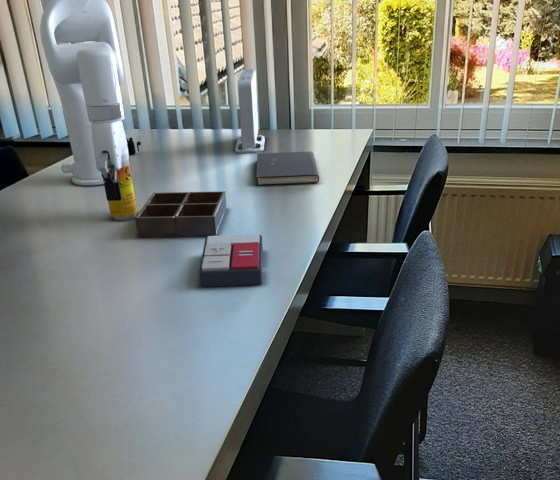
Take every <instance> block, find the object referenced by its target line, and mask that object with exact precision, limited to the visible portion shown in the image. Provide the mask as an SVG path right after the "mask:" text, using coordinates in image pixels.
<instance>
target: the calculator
mask: <svg viewBox="0 0 560 480" xmlns="http://www.w3.org/2000/svg"><path fill="white" fill-rule="evenodd" d="M263 247H264V246H263V236H262V234H259V233H250V234H248V233H247V234H221V235H217V236H205V239H204V244H203V249H202V256H201V260H200V265H199V271H198V273H199V283H200V287H202V288H212V287H236V286H237V287H238V286H261V285H262V284H263V259H264V248H263Z"/></svg>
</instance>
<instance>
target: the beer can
mask: <svg viewBox="0 0 560 480" xmlns="http://www.w3.org/2000/svg"><path fill="white" fill-rule="evenodd" d="M109 159H110V158H109ZM121 161H122V164H121V168H120V169H119V170H118V171H117V182H119V186H120V191H121V197H122V199H121V200H120V201H108V200H107V203H108V209H109V214H110V216H111V217H112V218H113V219H114V220H116V221H126V220H130V219H134V218H135V217H136V216H137V214H138V207H137V201H136V196H135V190H134V184H133V179H132V173H131V165H130V166H129V164H130V159H128V154H127V152H126V150H125V148H124V149H123V150H122V156H121ZM108 167H114V166H108ZM110 173H111V174H112V176H113V172H110Z"/></svg>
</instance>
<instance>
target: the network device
mask: <svg viewBox="0 0 560 480" xmlns="http://www.w3.org/2000/svg"><path fill="white" fill-rule="evenodd" d="M256 78H257V76H256V69H255V68H249V69H248V68H247V69H246V68H245V69H244V68H243V69H242V70H241V73H240V75H239V77H238V80H237V91H238V92H237V93H238V94H237V95H238V105H239V120H240V123H239V124H240V136H239V137H237V140H236V143H235V146H234V147H235V148H234V151H235V152H236V153H239V154H240V153H242V154H244V153H245V154H246V153H260V152H262V151H264V149H265V143H266V142H265V140H266V137H265V135H258V134H259V120H258V119H259V117H258V116H259V115H258V98H257V97H258V96H257V79H256ZM257 139H261V140H257ZM257 146H259V148H256V147H257ZM240 147H242V149H239V148H240Z"/></svg>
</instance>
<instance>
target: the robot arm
mask: <svg viewBox="0 0 560 480" xmlns="http://www.w3.org/2000/svg"><path fill="white" fill-rule="evenodd" d="M40 5H41V8H42V14H41V18H40V23H39V34H40V41H41V45H42V49H43V52H44V56H45V60H46V63H47V66H48V70H49V72H50V75H51V77H52V79H53V82H54V85H55V88H56V90H57V93H58V97H59V101H60V104H61V109H62V112H63V116H64V120H65V126H66V130H67V135H68V139H69V144H70V149H71V153H72V158H73V163H72V164H69V163H64V164H61V166H60V168H61V171H62V173H63V174H72V177H71V181H72V183H73V184H75V185H77V186H78V185H79V186H90V187H91V186H99V185H103V187H104V192H105V198H106V200H107V202H108V201H120V200H121V199H122V197H121V191H120V186H119V182H117V171H118V170H119V169H120V168H121V164H122V161H121V156H122V150H123V149H124V148H125V150H126V152H127V154H128V160H130V158H129V157H130V155H129V153H128V146H127V140H126V138H127V135H126V131H125V127H124V123H123V121H124V120H125V119H126V117H125V111H124V104H123V99H122V93H121V87H120V86H122V84H123V83H124V77H125V76H124V75H125V74H124V66H123V60H122V56H121V51H120V45H119V41H118V36H117V35H118V34H117V30H116V26H115V20H114V16H113V13H112V12H113V11H112V10H111V7H110V5H109V3H108V2H107V0H40ZM58 43H60V44H58ZM109 158H110V159H109ZM108 166H114V167H108ZM129 166H130V167H131V164H130V163H129ZM110 172H113V176H112V174H111V173H110Z"/></svg>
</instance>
